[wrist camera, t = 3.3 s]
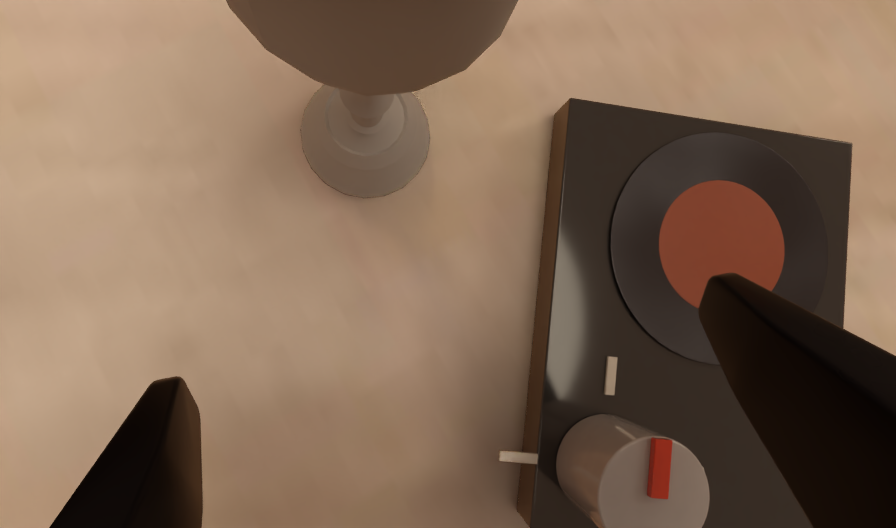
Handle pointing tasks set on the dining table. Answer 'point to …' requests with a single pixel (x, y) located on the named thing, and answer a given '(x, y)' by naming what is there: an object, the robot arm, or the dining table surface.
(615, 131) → the hob
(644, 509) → the hob knob
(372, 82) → the chalice
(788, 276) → the burner
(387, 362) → the dining table surface
